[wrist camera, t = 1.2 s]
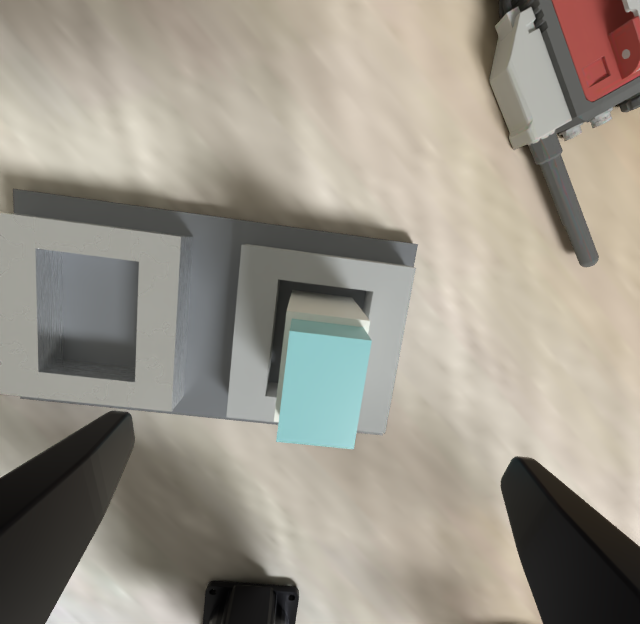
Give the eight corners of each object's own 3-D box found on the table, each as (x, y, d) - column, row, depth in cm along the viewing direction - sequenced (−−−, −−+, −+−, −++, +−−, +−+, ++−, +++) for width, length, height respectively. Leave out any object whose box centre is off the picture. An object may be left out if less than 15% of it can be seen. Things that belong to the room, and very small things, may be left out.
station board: (413, 244, 21) (417, 244, 20) (380, 428, 23) (382, 435, 23) (24, 190, 20) (13, 188, 19) (30, 392, 22) (20, 398, 21)
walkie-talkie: (418, -70, 18) (557, 272, 22) (453, -166, 14) (618, 281, 18) (576, -168, 18) (690, 201, 22) (664, -300, 13) (786, 192, 17)
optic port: (193, 236, 20) (181, 236, 18) (183, 395, 22) (171, 411, 20) (23, 214, 19) (-9, 211, 17) (28, 379, 21) (0, 394, 19)
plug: (352, 297, 21) (379, 333, 13) (339, 378, 22) (358, 456, 14) (292, 290, 21) (283, 321, 13) (282, 371, 21) (269, 447, 14)
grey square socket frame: (405, 265, 20) (415, 268, 19) (378, 416, 22) (384, 433, 20) (247, 244, 20) (241, 244, 18) (233, 401, 22) (226, 417, 20)
